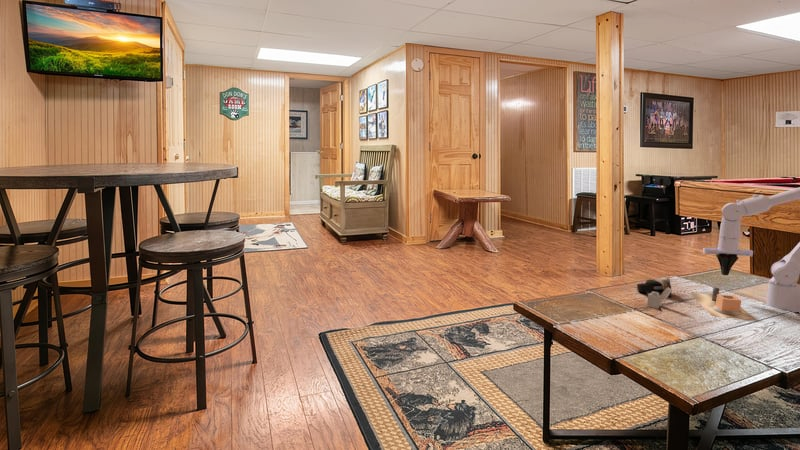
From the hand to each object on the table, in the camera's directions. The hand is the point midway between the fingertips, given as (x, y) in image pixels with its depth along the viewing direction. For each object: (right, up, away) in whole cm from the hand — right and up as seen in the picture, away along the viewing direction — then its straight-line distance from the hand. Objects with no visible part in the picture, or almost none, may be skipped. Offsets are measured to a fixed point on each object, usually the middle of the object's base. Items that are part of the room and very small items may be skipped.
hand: (724, 274), depth 159 cm
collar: (-8, -10, -12) cm, 18 cm away
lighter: (-27, -11, -6) cm, 30 cm away
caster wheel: (-21, -9, +8) cm, 24 cm away
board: (-6, -11, -6) cm, 14 cm away
